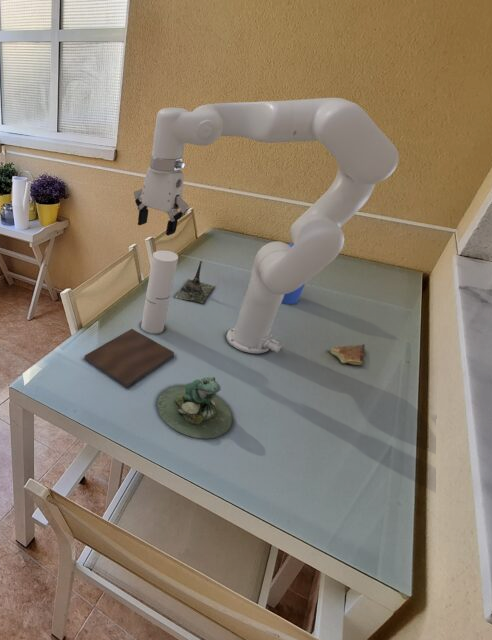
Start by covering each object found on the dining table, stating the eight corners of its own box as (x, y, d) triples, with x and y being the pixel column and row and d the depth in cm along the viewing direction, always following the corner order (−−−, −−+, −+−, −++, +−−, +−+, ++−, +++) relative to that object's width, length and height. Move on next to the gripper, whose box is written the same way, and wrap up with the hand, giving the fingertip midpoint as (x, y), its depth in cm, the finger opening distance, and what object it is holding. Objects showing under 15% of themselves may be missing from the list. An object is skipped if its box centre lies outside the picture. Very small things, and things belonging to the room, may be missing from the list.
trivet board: (173, 356, 123) (174, 352, 122) (126, 388, 112) (127, 384, 111) (131, 332, 132) (131, 328, 132) (84, 359, 121) (84, 355, 121)
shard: (362, 348, 125) (364, 343, 124) (381, 364, 119) (384, 359, 118) (328, 351, 124) (331, 346, 123) (346, 367, 118) (349, 362, 117)
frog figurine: (188, 448, 95) (199, 412, 88) (143, 397, 109) (150, 363, 102) (247, 424, 101) (262, 389, 94) (197, 379, 114) (207, 345, 107)
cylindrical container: (164, 334, 131) (179, 262, 117) (141, 332, 132) (152, 260, 118) (163, 322, 137) (177, 251, 122) (141, 319, 138) (152, 249, 123)
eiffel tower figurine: (203, 305, 146) (212, 270, 138) (174, 297, 150) (181, 263, 142) (214, 287, 156) (223, 254, 148) (187, 280, 160) (194, 247, 152)
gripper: (204, 167, 102) (190, 234, 112) (148, 155, 112) (140, 217, 123) (185, 173, 98) (173, 242, 108) (129, 160, 109) (123, 223, 119)
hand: (155, 228), depth 115 cm, fingers open, 9 cm apart
